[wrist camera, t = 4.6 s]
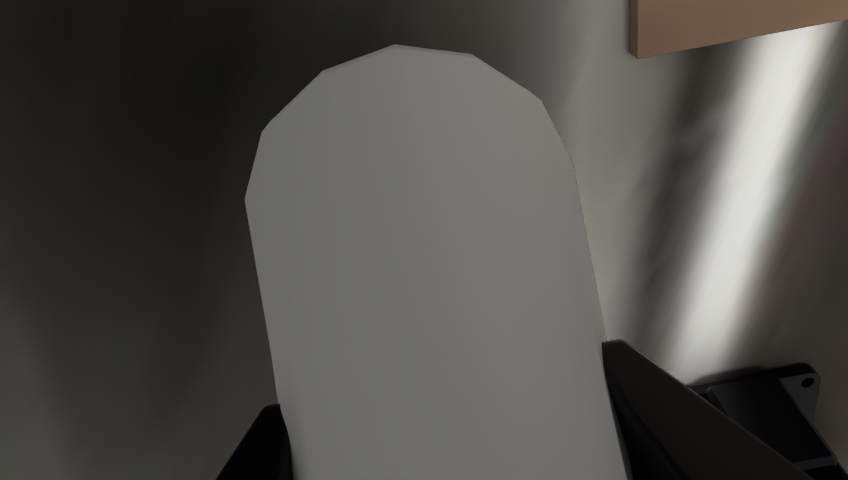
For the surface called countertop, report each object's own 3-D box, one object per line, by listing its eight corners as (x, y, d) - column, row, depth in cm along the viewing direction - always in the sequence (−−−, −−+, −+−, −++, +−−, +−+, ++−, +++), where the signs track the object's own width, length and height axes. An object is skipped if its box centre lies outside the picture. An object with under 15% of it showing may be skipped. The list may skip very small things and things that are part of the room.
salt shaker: (256, 259, 16) (58, 1329, 5) (262, -7, 13) (-218, 1213, 2) (511, 275, 17) (836, 1204, 6) (572, 31, 14) (1490, 990, 3)
